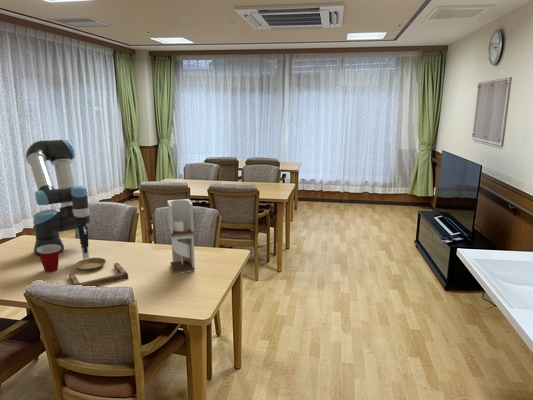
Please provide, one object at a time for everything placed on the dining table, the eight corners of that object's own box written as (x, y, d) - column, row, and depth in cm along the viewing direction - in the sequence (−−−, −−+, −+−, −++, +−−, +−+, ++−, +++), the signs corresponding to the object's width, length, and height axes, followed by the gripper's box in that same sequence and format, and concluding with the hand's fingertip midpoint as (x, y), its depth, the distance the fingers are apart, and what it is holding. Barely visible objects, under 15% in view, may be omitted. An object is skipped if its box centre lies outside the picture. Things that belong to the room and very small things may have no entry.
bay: (69, 277, 188) (68, 273, 188) (118, 267, 201) (117, 262, 201) (76, 290, 175) (75, 285, 175) (128, 278, 188) (127, 273, 188)
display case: (170, 265, 204) (167, 200, 196) (191, 263, 208) (188, 199, 200) (173, 274, 194) (170, 205, 186) (194, 271, 197) (192, 204, 189)
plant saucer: (69, 273, 194) (68, 268, 194) (84, 261, 209) (83, 257, 208) (98, 274, 194) (97, 269, 193) (111, 262, 208) (110, 257, 207)
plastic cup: (50, 276, 190) (47, 252, 187) (34, 272, 194) (31, 249, 191) (68, 267, 200) (66, 245, 197) (52, 264, 204) (49, 242, 201)
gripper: (71, 213, 207) (75, 255, 213) (76, 219, 197) (80, 263, 202) (86, 211, 212) (90, 253, 217) (92, 217, 201) (96, 260, 207)
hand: (85, 257), depth 210 cm, fingers closed
